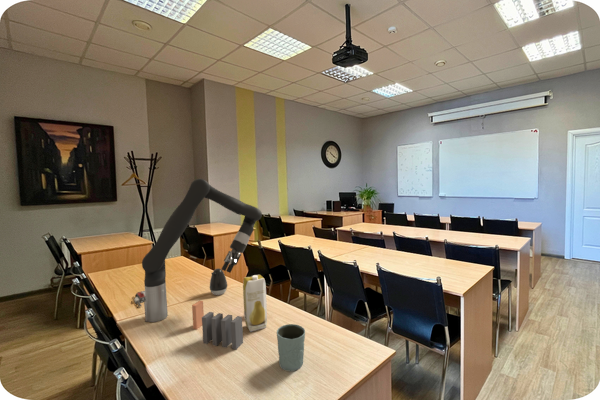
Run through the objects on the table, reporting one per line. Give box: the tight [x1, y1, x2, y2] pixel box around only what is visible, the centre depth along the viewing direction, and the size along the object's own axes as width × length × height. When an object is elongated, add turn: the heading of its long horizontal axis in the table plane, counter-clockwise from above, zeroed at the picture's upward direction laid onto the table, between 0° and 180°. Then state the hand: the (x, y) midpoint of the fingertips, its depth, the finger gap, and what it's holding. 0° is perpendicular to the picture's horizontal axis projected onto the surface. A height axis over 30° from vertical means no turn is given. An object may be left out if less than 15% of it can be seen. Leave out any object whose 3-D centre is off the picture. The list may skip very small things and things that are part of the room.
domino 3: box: [211, 312, 224, 347], centre depth 115 cm, size 2×5×11 cm, turn 161°
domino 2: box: [201, 311, 215, 345], centre depth 116 cm, size 2×5×11 cm, turn 160°
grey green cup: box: [276, 323, 306, 372], centre depth 100 cm, size 10×10×12 cm
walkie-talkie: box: [134, 290, 146, 308], centre depth 160 cm, size 9×4×20 cm
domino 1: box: [191, 300, 205, 330], centre depth 128 cm, size 2×5×11 cm, turn 160°
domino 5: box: [231, 315, 244, 350], centre depth 112 cm, size 2×5×11 cm, turn 160°
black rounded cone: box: [209, 268, 228, 296], centre depth 166 cm, size 10×10×15 cm
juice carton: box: [242, 274, 268, 333], centre depth 125 cm, size 9×8×24 cm
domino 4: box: [221, 314, 233, 349], centre depth 113 cm, size 2×5×11 cm, turn 160°
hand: (225, 271), depth 141 cm, fingers open, 8 cm apart
